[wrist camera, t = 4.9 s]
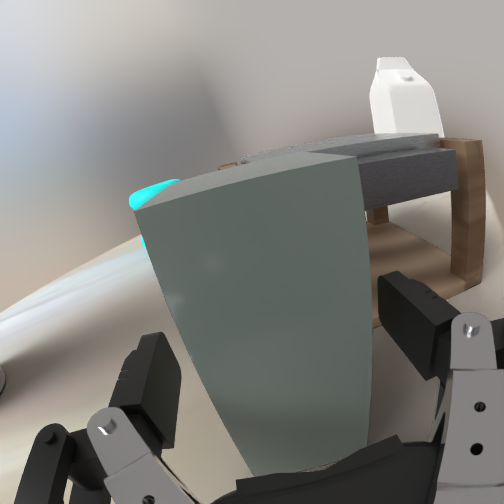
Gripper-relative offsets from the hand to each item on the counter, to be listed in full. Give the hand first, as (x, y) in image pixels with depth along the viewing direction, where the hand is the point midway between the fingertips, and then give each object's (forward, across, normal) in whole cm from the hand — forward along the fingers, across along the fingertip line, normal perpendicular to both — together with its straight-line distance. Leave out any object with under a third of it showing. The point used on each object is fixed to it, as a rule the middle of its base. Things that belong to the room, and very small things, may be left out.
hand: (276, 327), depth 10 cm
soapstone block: (0, 0, +6) cm, 7 cm away
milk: (+44, -37, +7) cm, 58 cm away
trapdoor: (+13, -8, -2) cm, 15 cm away
